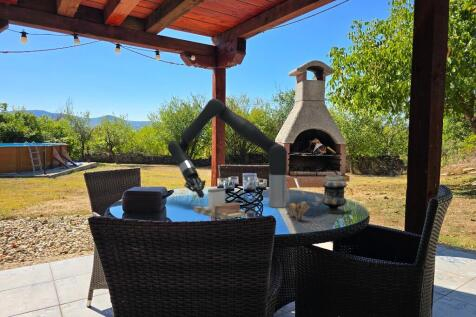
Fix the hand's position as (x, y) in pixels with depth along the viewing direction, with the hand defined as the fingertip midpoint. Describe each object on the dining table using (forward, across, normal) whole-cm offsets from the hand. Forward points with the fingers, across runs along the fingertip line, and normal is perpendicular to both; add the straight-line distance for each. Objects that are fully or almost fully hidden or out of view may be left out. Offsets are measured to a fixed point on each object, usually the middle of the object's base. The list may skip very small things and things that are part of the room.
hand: (202, 196), depth 173 cm
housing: (+14, 0, -5) cm, 15 cm away
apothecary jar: (+38, +46, -29) cm, 67 cm away
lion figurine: (+36, +20, -27) cm, 50 cm away
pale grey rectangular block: (+12, 0, -5) cm, 12 cm away
